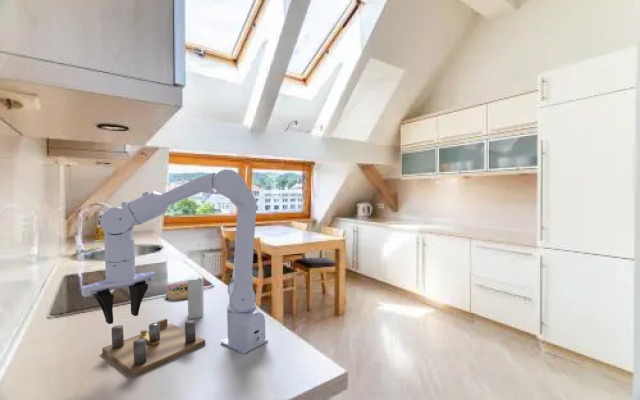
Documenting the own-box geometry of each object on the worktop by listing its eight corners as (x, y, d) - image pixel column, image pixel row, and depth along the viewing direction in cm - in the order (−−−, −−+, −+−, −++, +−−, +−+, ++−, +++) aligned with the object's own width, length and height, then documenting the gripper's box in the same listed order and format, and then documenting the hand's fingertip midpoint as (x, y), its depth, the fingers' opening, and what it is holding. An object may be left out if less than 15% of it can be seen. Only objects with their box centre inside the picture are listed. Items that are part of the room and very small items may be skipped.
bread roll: (189, 289, 125) (189, 277, 125) (203, 298, 118) (203, 286, 118) (160, 297, 117) (160, 284, 116) (174, 308, 110) (173, 295, 109)
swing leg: (138, 338, 81) (137, 319, 81) (147, 334, 83) (147, 316, 83) (152, 346, 77) (151, 327, 76) (162, 343, 78) (161, 323, 78)
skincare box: (189, 312, 102) (188, 274, 101) (204, 310, 103) (203, 273, 102) (187, 319, 96) (186, 280, 95) (203, 317, 97) (202, 278, 97)
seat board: (205, 344, 80) (204, 321, 80) (133, 376, 66) (132, 349, 66) (171, 327, 90) (170, 306, 90) (102, 352, 77) (101, 328, 76)
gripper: (145, 252, 80) (147, 305, 81) (75, 263, 69) (78, 325, 69) (159, 255, 76) (160, 311, 76) (87, 268, 64) (89, 334, 65)
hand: (122, 318), depth 72 cm, fingers open, 5 cm apart
